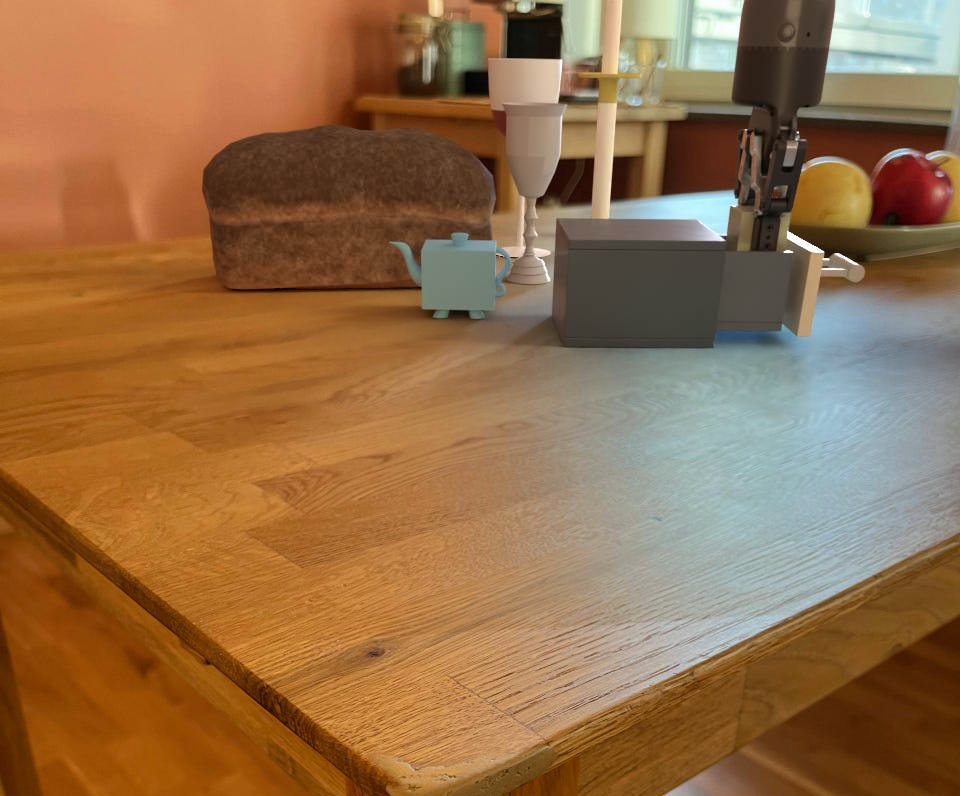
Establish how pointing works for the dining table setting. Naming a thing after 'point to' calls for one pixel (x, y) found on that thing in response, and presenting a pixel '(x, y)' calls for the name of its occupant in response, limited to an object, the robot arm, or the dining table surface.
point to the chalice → (532, 171)
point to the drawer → (777, 287)
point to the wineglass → (521, 85)
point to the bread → (339, 205)
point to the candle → (607, 109)
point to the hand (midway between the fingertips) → (754, 256)
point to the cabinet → (637, 282)
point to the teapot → (457, 274)
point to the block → (750, 229)
